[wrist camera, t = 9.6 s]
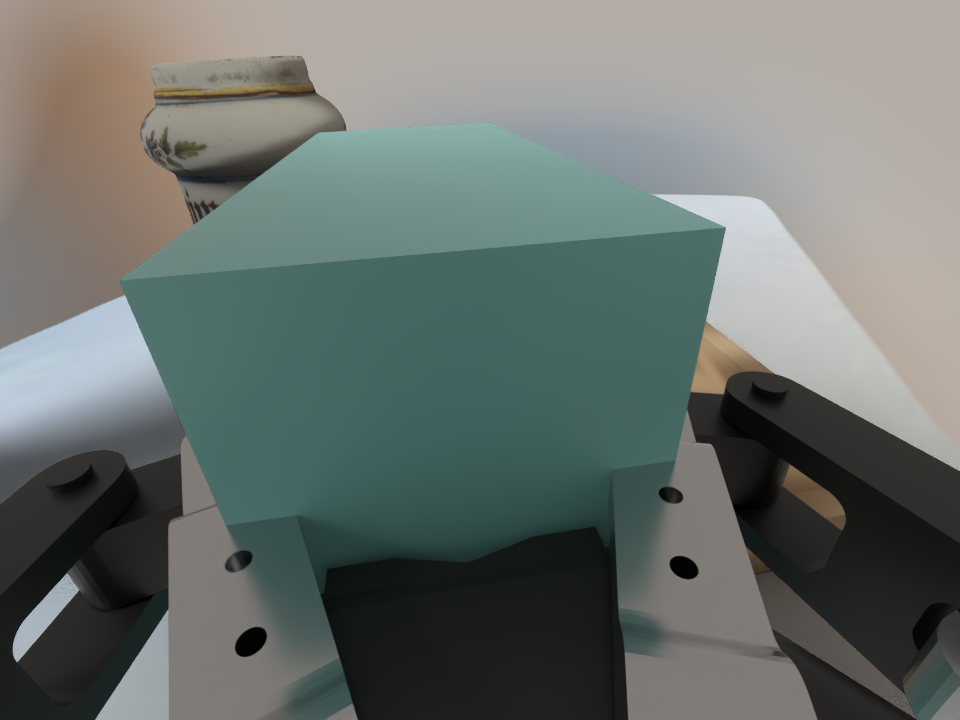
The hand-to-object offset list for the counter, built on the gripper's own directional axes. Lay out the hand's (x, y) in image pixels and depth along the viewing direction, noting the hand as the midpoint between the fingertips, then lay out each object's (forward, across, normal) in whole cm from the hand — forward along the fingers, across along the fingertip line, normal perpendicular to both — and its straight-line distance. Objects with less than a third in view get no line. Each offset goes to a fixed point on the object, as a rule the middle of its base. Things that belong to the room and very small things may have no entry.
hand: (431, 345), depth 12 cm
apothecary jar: (+25, +9, +11) cm, 29 cm away
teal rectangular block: (-1, 0, +8) cm, 8 cm away
